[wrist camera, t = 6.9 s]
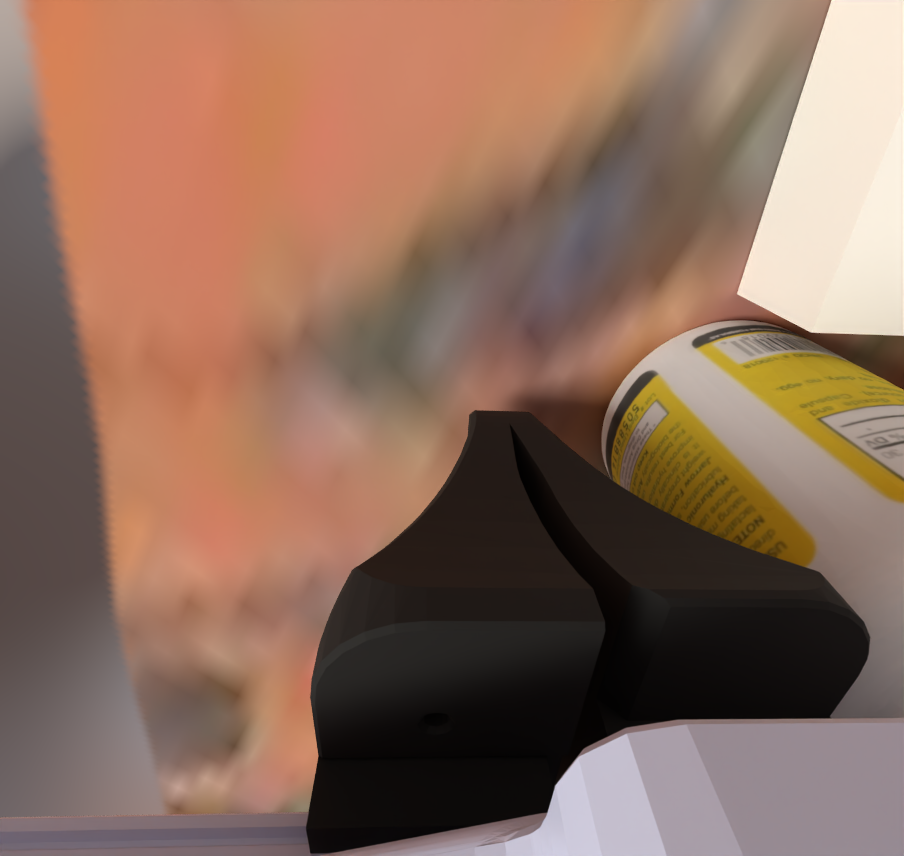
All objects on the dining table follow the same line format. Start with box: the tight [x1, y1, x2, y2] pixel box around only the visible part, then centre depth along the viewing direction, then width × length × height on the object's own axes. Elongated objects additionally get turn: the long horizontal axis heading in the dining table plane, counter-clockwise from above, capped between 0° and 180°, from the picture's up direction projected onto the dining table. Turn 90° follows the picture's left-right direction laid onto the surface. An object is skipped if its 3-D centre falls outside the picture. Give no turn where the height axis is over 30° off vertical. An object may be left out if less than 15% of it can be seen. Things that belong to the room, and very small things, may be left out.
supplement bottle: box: [602, 320, 904, 719], centre depth 8 cm, size 5×5×10 cm
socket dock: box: [737, 0, 904, 336], centre depth 12 cm, size 19×8×3 cm, turn 177°
